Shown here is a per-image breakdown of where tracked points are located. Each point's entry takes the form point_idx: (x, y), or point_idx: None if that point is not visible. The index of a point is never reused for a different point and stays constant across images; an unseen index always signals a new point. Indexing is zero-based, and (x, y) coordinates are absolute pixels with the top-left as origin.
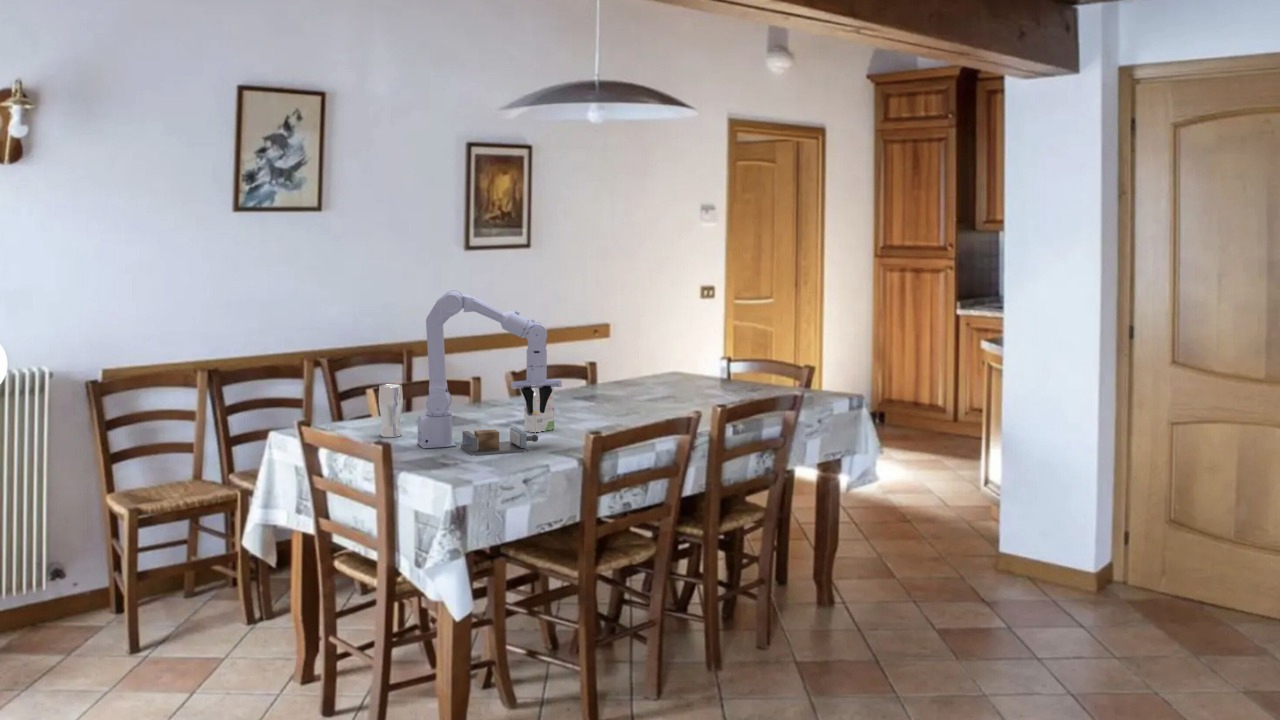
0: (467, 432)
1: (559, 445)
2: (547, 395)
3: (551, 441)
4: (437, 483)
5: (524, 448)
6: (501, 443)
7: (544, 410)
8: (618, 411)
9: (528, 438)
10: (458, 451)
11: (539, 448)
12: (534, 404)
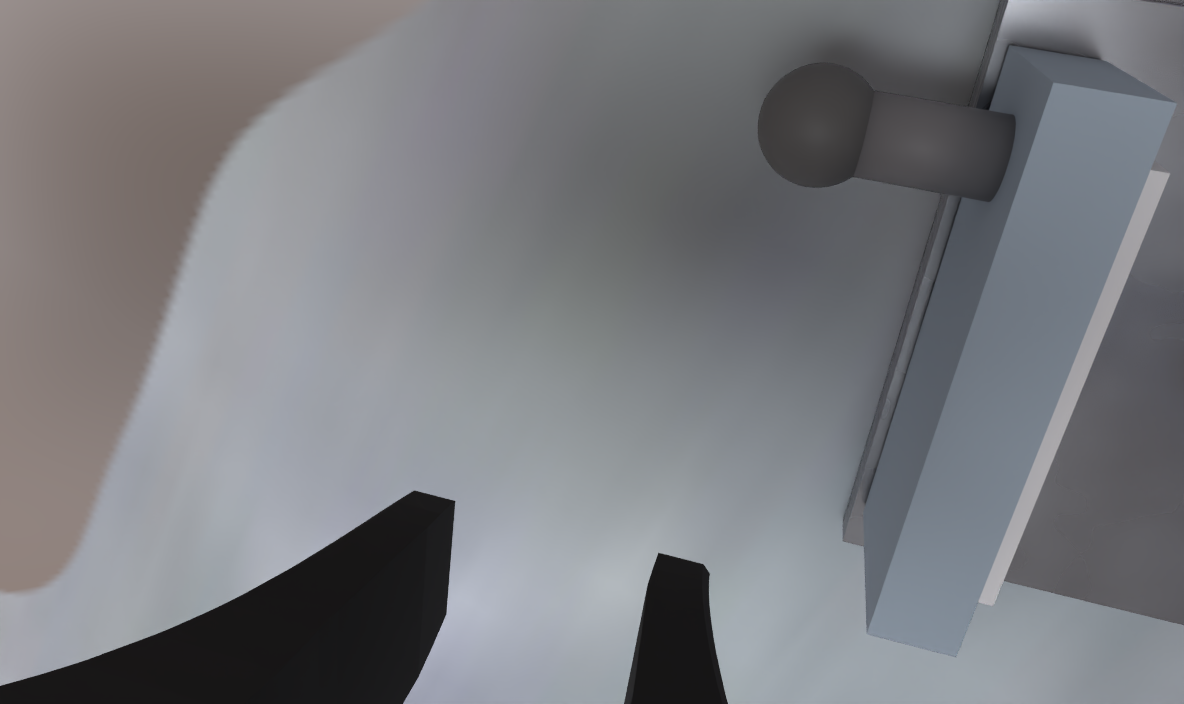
0: None
1: (406, 167)
2: (106, 697)
3: (404, 409)
4: None
5: (1040, 49)
6: (1100, 511)
7: (387, 509)
8: None
9: (958, 110)
10: None
11: (723, 126)
12: None
